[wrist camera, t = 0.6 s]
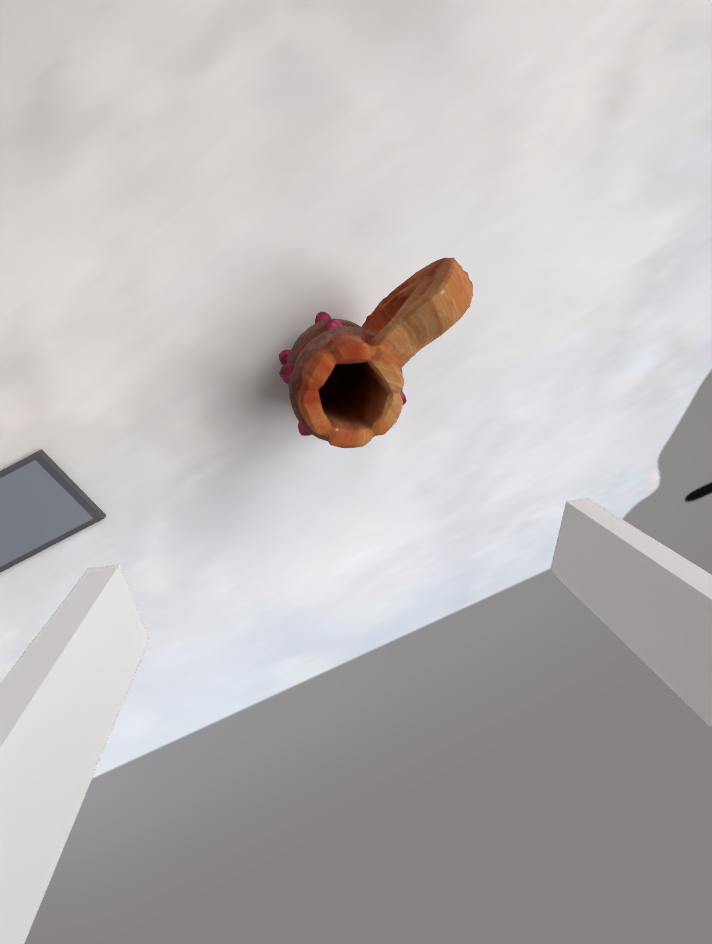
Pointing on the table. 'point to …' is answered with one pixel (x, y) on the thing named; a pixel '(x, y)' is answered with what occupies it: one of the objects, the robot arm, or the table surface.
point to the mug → (370, 357)
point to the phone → (39, 508)
